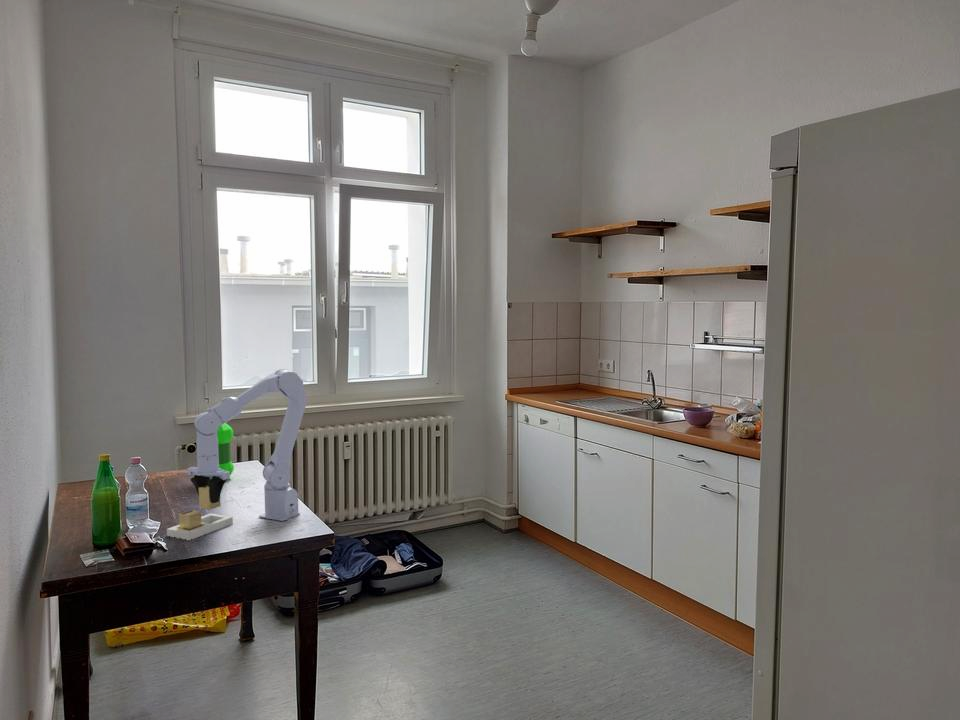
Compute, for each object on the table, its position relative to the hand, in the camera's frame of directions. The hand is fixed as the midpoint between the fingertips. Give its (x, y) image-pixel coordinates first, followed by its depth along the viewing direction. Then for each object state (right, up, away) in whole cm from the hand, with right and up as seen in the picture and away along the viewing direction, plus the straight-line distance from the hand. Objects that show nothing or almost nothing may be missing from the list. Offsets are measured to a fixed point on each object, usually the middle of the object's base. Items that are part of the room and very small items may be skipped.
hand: (209, 501), depth 194 cm
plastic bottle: (-18, -3, +54) cm, 57 cm away
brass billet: (0, -2, 0) cm, 2 cm away
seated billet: (-3, -8, -6) cm, 10 cm away
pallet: (-1, -8, -3) cm, 8 cm away
